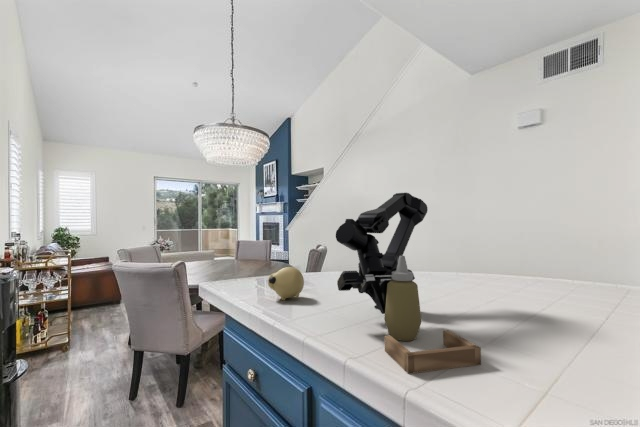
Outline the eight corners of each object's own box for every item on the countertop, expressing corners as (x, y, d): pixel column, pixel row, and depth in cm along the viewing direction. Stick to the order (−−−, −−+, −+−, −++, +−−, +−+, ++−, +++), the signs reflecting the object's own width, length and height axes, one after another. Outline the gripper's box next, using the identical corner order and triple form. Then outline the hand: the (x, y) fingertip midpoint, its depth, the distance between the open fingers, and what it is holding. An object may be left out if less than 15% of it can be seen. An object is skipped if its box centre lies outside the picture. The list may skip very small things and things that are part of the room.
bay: (384, 350, 60) (384, 335, 60) (448, 344, 63) (448, 329, 63) (408, 373, 51) (407, 355, 51) (480, 364, 54) (480, 347, 54)
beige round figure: (272, 294, 106) (272, 264, 107) (305, 295, 105) (305, 264, 106) (264, 302, 97) (264, 268, 97) (301, 302, 96) (301, 269, 96)
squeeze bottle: (424, 345, 63) (423, 258, 63) (384, 342, 64) (383, 257, 65) (419, 331, 71) (418, 254, 71) (384, 329, 72) (383, 253, 73)
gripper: (389, 269, 88) (406, 322, 79) (328, 270, 84) (337, 327, 74) (405, 248, 80) (426, 306, 70) (338, 249, 75) (350, 310, 66)
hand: (384, 313), depth 70 cm, fingers closed
